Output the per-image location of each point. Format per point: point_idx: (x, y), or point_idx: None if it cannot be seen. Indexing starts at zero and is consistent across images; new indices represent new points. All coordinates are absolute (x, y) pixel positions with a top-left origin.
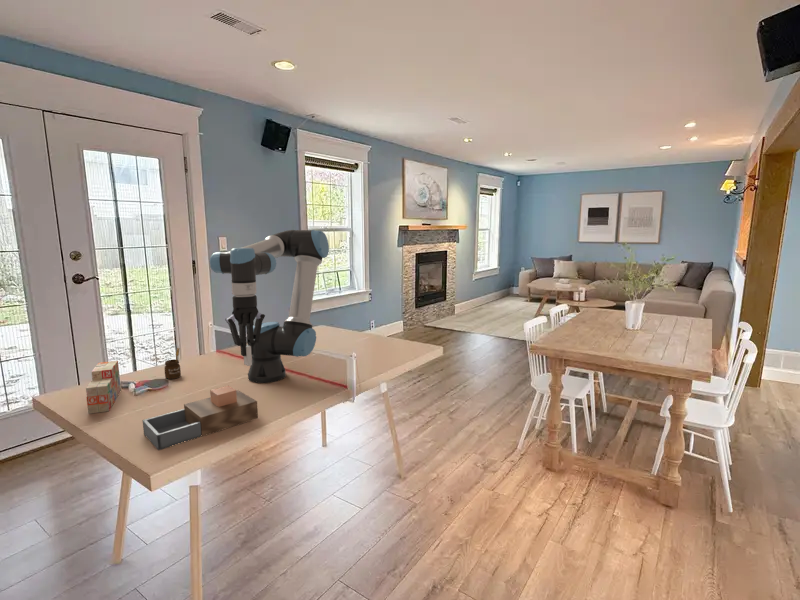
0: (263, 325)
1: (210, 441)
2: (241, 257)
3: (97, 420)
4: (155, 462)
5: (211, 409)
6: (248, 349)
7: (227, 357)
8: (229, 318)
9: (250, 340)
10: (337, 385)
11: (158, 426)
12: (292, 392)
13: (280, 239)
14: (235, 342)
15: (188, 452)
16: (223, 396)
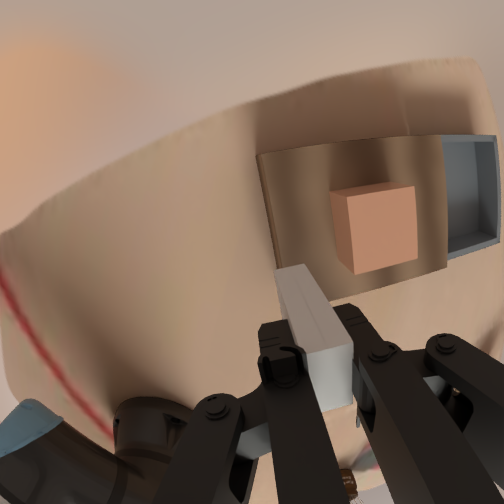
0: None
1: (397, 96)
2: None
3: (490, 335)
4: (475, 91)
5: (410, 175)
6: (325, 328)
7: None
8: None
9: (319, 408)
10: (6, 281)
11: (468, 235)
12: (108, 304)
13: None
14: (450, 393)
15: (435, 82)
16: (390, 187)
